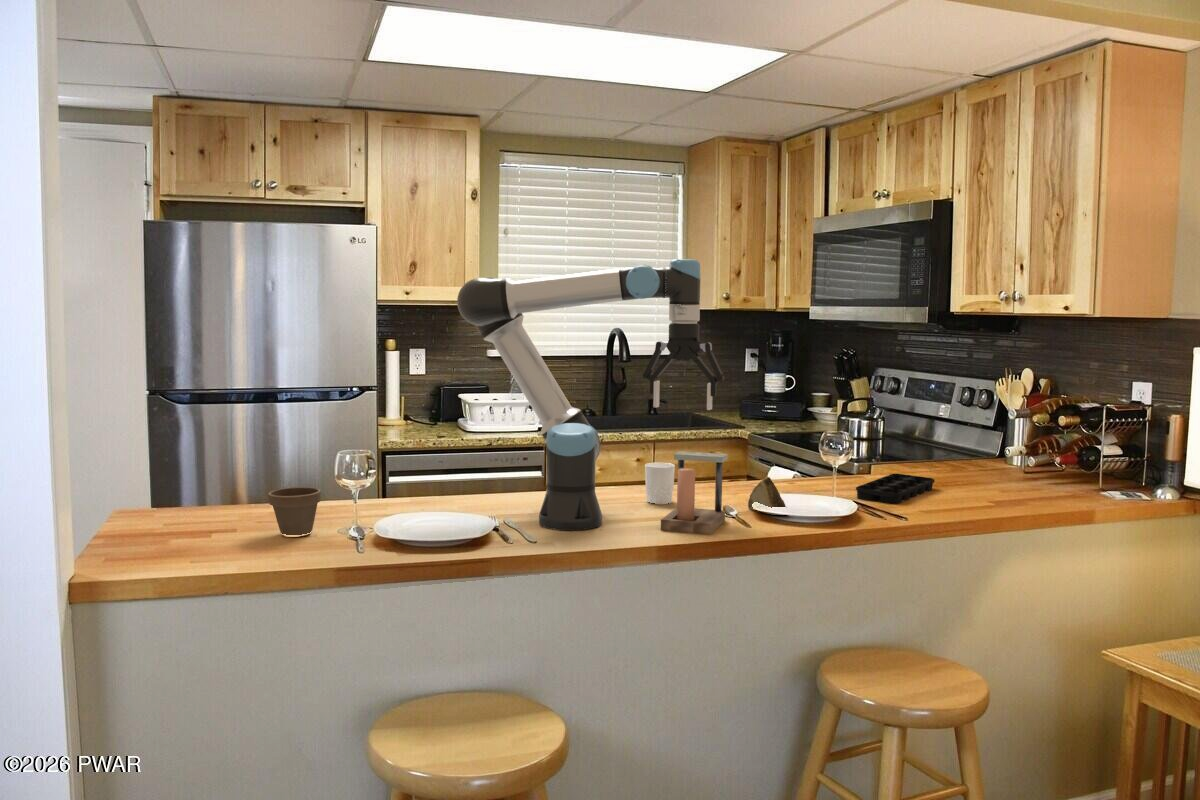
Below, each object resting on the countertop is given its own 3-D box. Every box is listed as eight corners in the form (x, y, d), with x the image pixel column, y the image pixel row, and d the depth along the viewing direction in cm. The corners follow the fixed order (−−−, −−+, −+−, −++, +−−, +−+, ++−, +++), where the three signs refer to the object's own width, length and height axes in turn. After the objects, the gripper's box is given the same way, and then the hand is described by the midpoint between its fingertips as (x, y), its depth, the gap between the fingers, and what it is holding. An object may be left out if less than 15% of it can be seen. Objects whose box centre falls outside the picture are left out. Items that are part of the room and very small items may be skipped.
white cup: (674, 499, 268) (675, 462, 267) (673, 505, 261) (674, 467, 260) (645, 498, 269) (645, 462, 268) (643, 504, 261) (644, 467, 260)
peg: (675, 529, 234) (676, 470, 233) (679, 525, 238) (680, 467, 236) (691, 530, 233) (692, 471, 231) (695, 527, 237) (696, 468, 235)
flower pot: (258, 535, 225) (257, 491, 224) (302, 526, 234) (301, 484, 233) (287, 543, 218) (286, 498, 217) (332, 534, 226) (331, 490, 225)
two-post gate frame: (673, 510, 243) (674, 454, 242) (678, 506, 248) (679, 451, 247) (721, 514, 239) (722, 457, 238) (725, 509, 244) (727, 454, 243)
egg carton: (935, 489, 288) (936, 476, 288) (920, 508, 261) (921, 494, 261) (873, 483, 296) (874, 471, 295) (852, 502, 269) (853, 488, 269)
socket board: (660, 530, 233) (660, 519, 233) (677, 516, 247) (677, 506, 247) (711, 534, 229) (711, 523, 229) (724, 520, 243) (725, 510, 243)
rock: (736, 499, 258) (747, 502, 248) (755, 473, 258) (767, 474, 249) (769, 524, 259) (781, 528, 249) (787, 497, 259) (800, 500, 250)
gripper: (631, 322, 246) (630, 407, 248) (731, 323, 238) (729, 412, 240) (640, 321, 253) (639, 404, 255) (737, 323, 245) (735, 408, 247)
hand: (682, 408), depth 248 cm, fingers open, 13 cm apart
